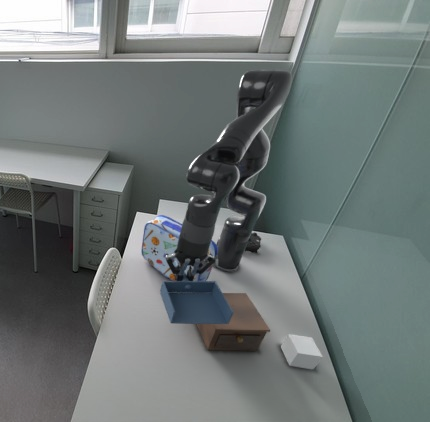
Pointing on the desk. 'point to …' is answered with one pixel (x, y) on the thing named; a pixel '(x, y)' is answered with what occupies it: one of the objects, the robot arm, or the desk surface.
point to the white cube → (301, 351)
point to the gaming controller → (253, 243)
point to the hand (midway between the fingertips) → (182, 282)
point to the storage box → (236, 327)
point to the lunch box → (168, 246)
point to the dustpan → (195, 302)
